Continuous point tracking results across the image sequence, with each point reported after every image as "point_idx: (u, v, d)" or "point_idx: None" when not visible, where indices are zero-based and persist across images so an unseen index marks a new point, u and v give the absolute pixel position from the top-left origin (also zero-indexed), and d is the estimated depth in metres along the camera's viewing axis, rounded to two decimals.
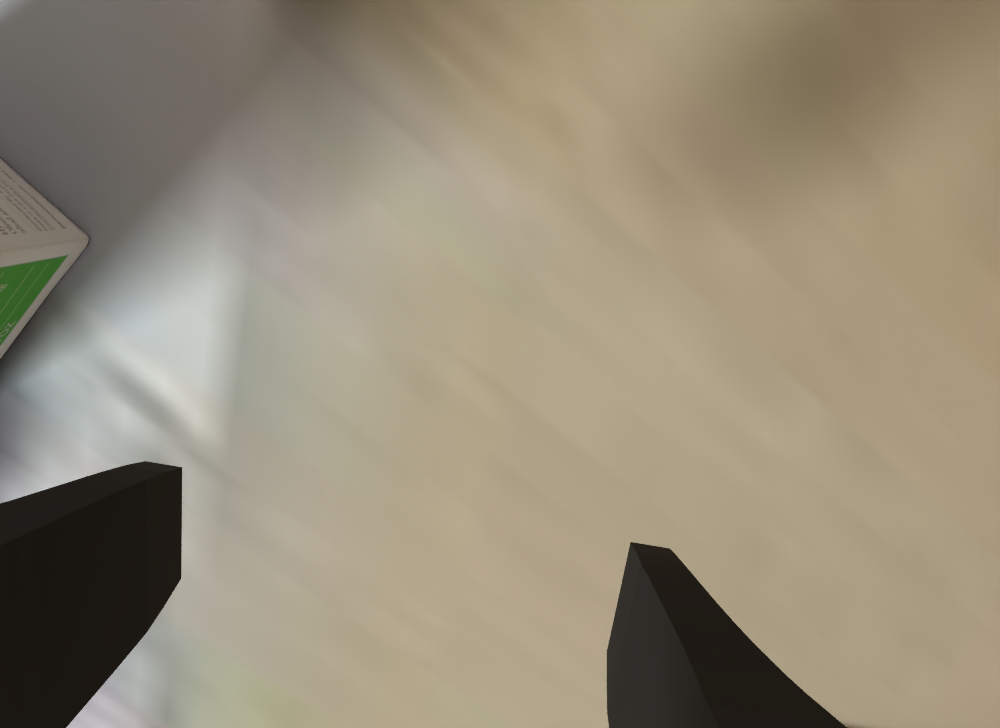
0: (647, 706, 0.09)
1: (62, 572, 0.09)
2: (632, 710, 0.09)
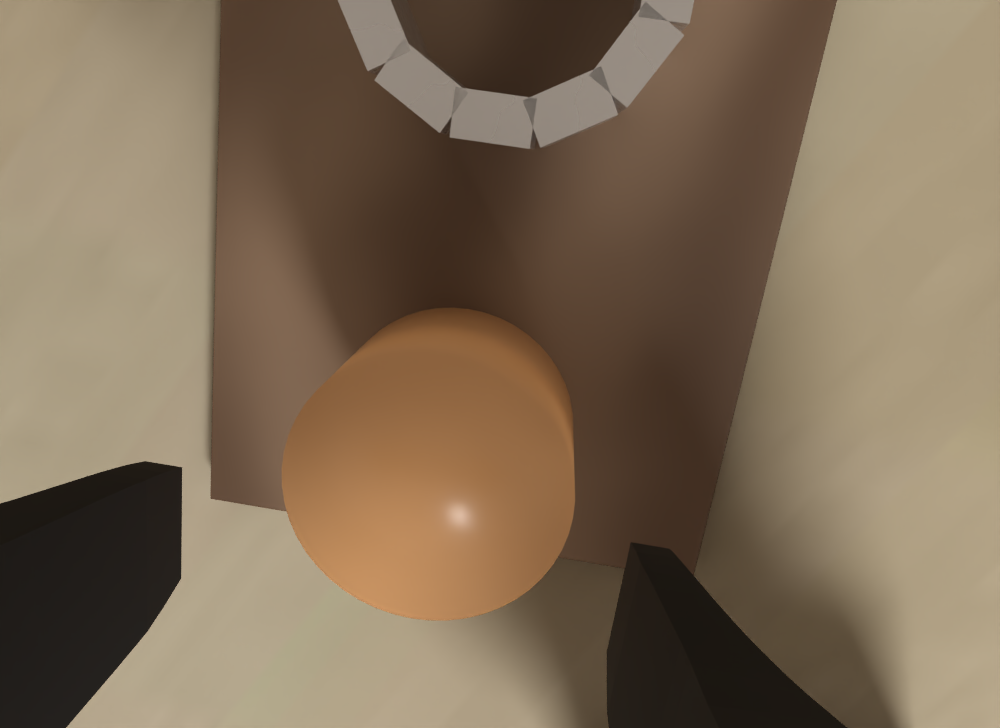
0: (647, 706, 0.09)
1: (62, 572, 0.09)
2: (632, 710, 0.09)
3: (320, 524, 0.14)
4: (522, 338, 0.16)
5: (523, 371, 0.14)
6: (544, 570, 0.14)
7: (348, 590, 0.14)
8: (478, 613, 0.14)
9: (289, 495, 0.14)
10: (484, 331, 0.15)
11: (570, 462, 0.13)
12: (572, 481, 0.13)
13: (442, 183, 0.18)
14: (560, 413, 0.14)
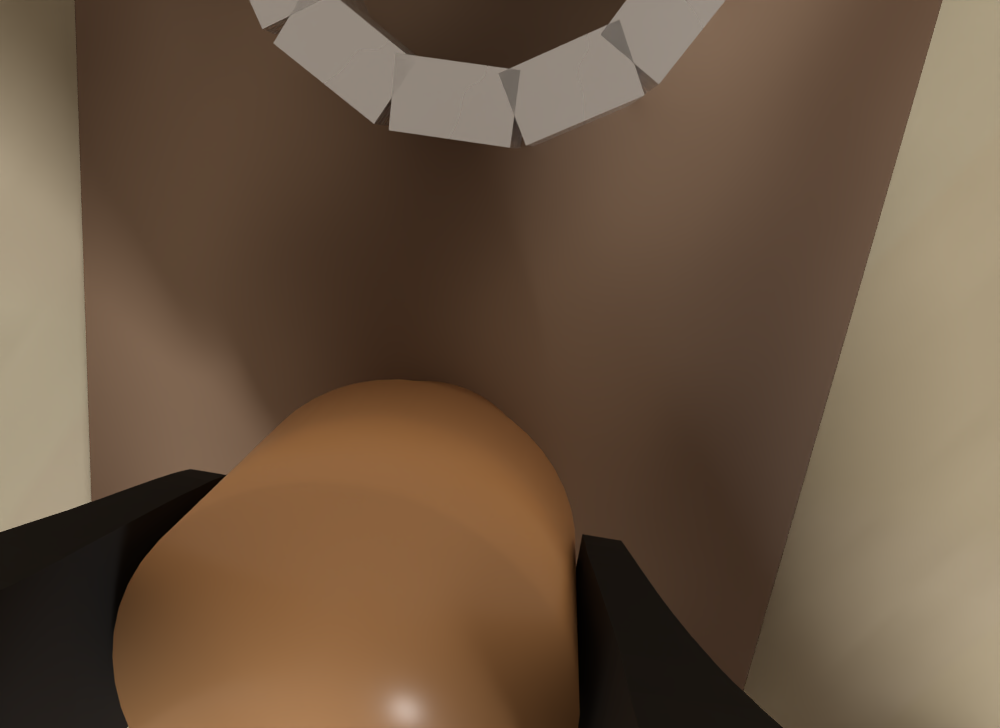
0: (587, 695, 0.09)
1: (119, 582, 0.09)
2: None
3: None
4: (500, 428, 0.11)
5: (497, 501, 0.09)
6: None
7: None
8: None
9: (127, 695, 0.09)
10: (439, 426, 0.10)
11: (571, 658, 0.08)
12: (575, 686, 0.08)
13: (392, 196, 0.13)
14: (556, 561, 0.09)
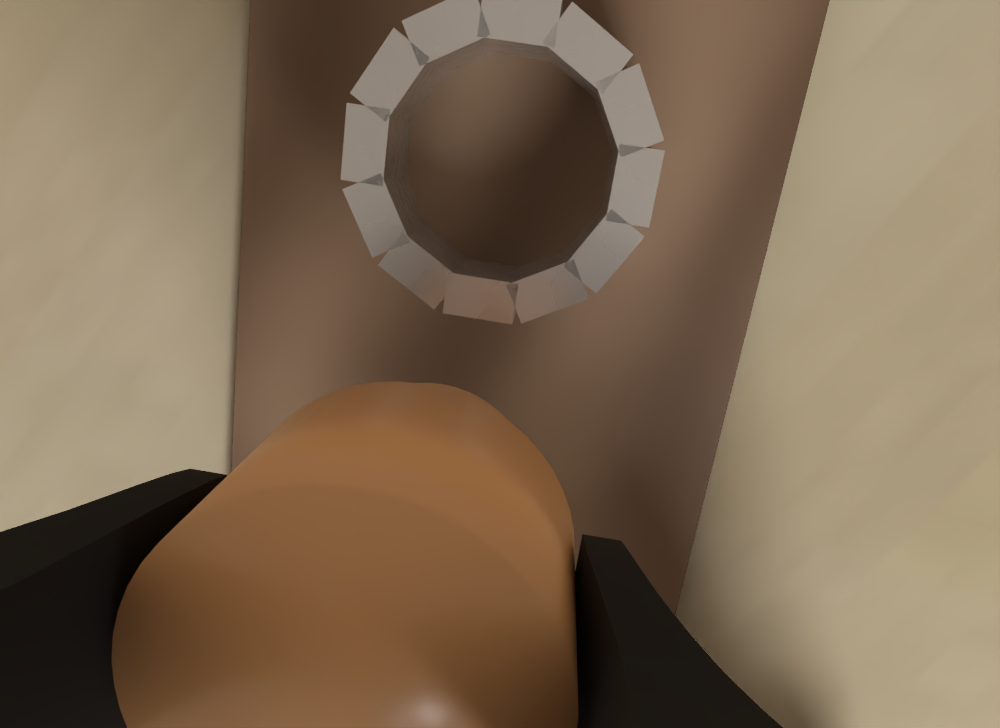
0: (587, 695, 0.09)
1: (119, 582, 0.09)
2: None
3: None
4: (499, 430, 0.11)
5: (496, 504, 0.09)
6: None
7: None
8: None
9: (126, 698, 0.09)
10: (437, 429, 0.10)
11: (570, 660, 0.08)
12: (574, 689, 0.08)
13: (437, 330, 0.20)
14: (555, 564, 0.09)
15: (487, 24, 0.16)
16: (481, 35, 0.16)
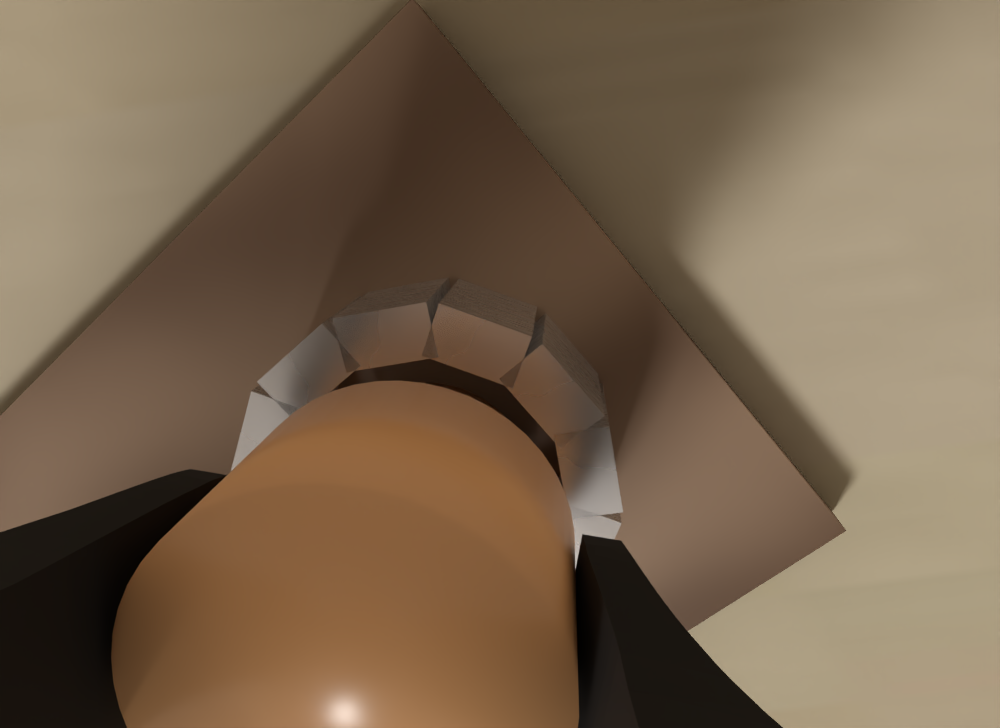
0: (587, 695, 0.09)
1: (119, 582, 0.09)
2: None
3: None
4: (500, 430, 0.11)
5: (497, 503, 0.09)
6: None
7: None
8: None
9: (126, 696, 0.09)
10: (440, 428, 0.10)
11: (571, 661, 0.08)
12: (574, 689, 0.08)
13: None
14: (556, 564, 0.09)
15: (517, 377, 0.13)
16: (503, 381, 0.13)
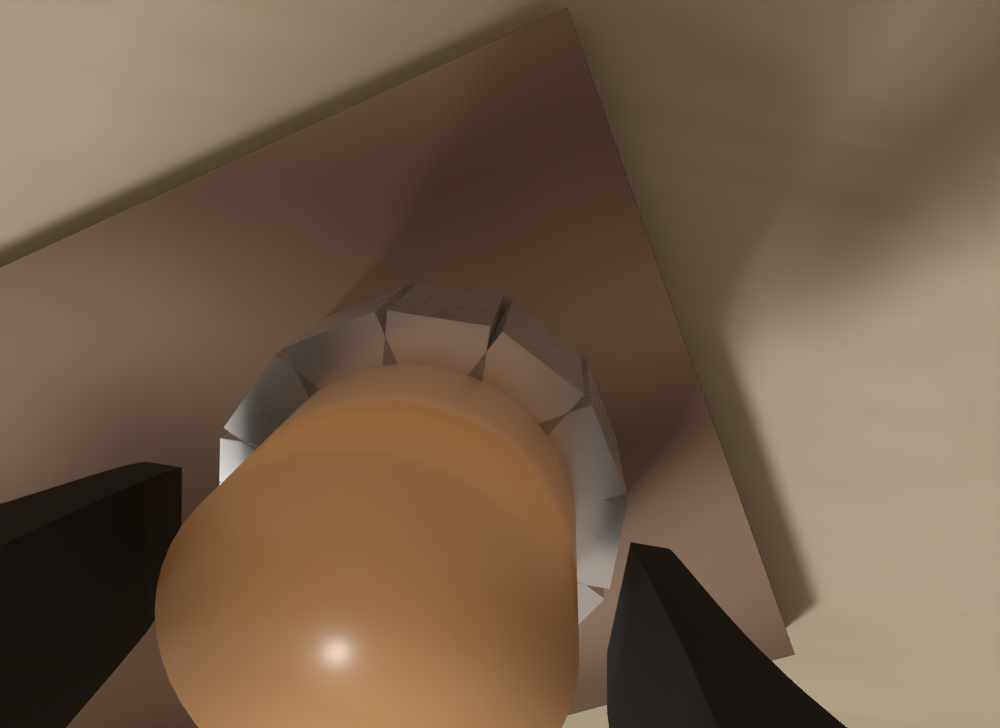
0: (647, 706, 0.09)
1: (62, 572, 0.09)
2: (632, 710, 0.09)
3: (213, 688, 0.10)
4: (506, 409, 0.12)
5: (504, 471, 0.10)
6: None
7: None
8: None
9: (167, 648, 0.10)
10: (451, 405, 0.11)
11: (572, 611, 0.09)
12: (575, 637, 0.09)
13: None
14: (558, 527, 0.10)
15: (554, 429, 0.12)
16: None
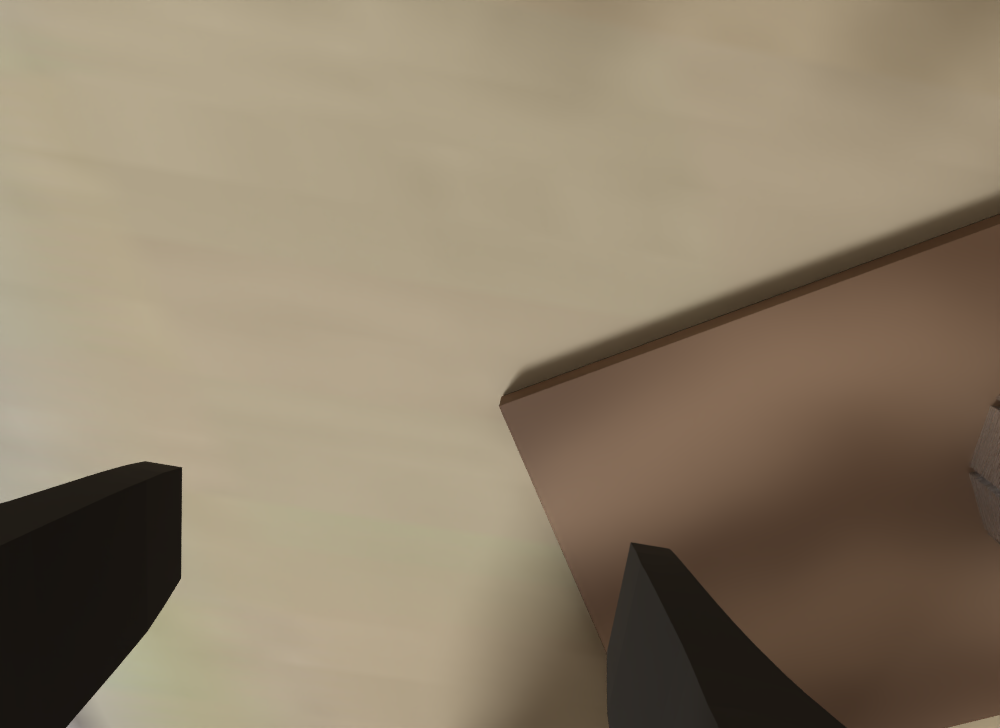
0: (647, 706, 0.09)
1: (62, 572, 0.09)
2: (632, 710, 0.09)
3: None
4: None
5: None
6: None
7: None
8: None
9: None
10: None
11: None
12: None
13: (921, 473, 0.19)
14: None
15: None
16: None
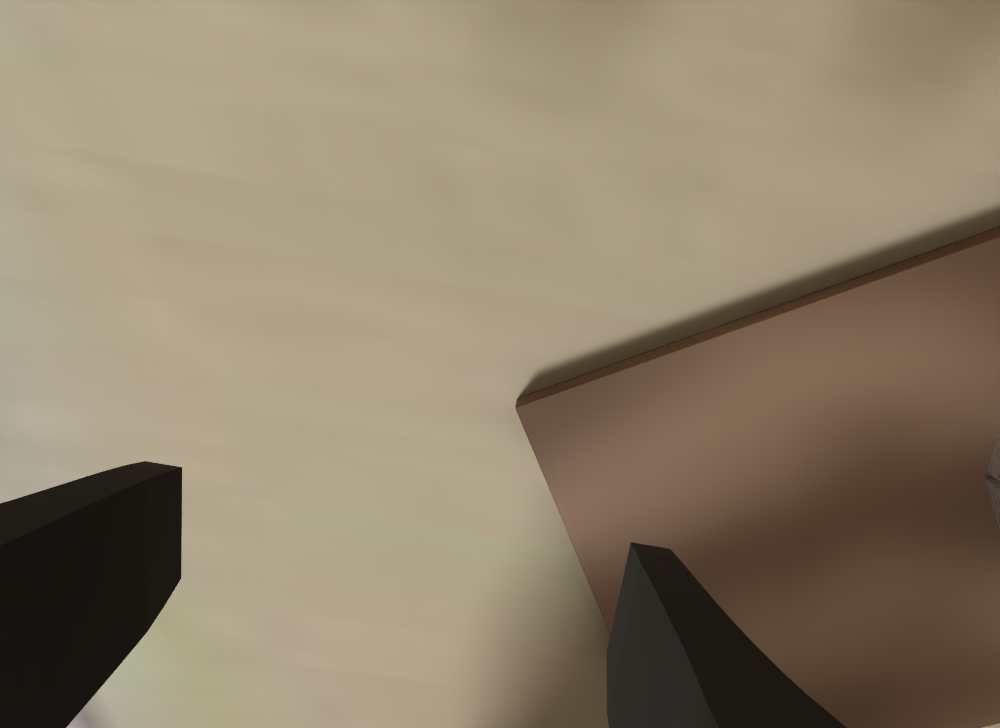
0: (647, 706, 0.09)
1: (62, 572, 0.09)
2: (632, 710, 0.09)
3: None
4: None
5: None
6: None
7: None
8: None
9: None
10: None
11: None
12: None
13: (937, 477, 0.19)
14: None
15: None
16: None
